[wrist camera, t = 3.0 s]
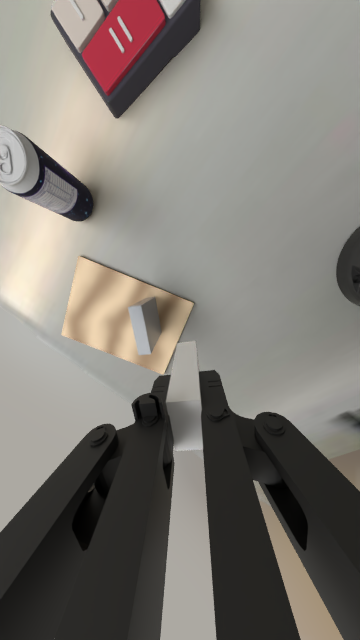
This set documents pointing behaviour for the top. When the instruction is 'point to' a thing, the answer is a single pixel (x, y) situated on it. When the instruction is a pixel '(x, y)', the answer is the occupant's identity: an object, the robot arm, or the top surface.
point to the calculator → (125, 41)
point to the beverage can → (41, 177)
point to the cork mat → (120, 314)
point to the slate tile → (145, 324)
